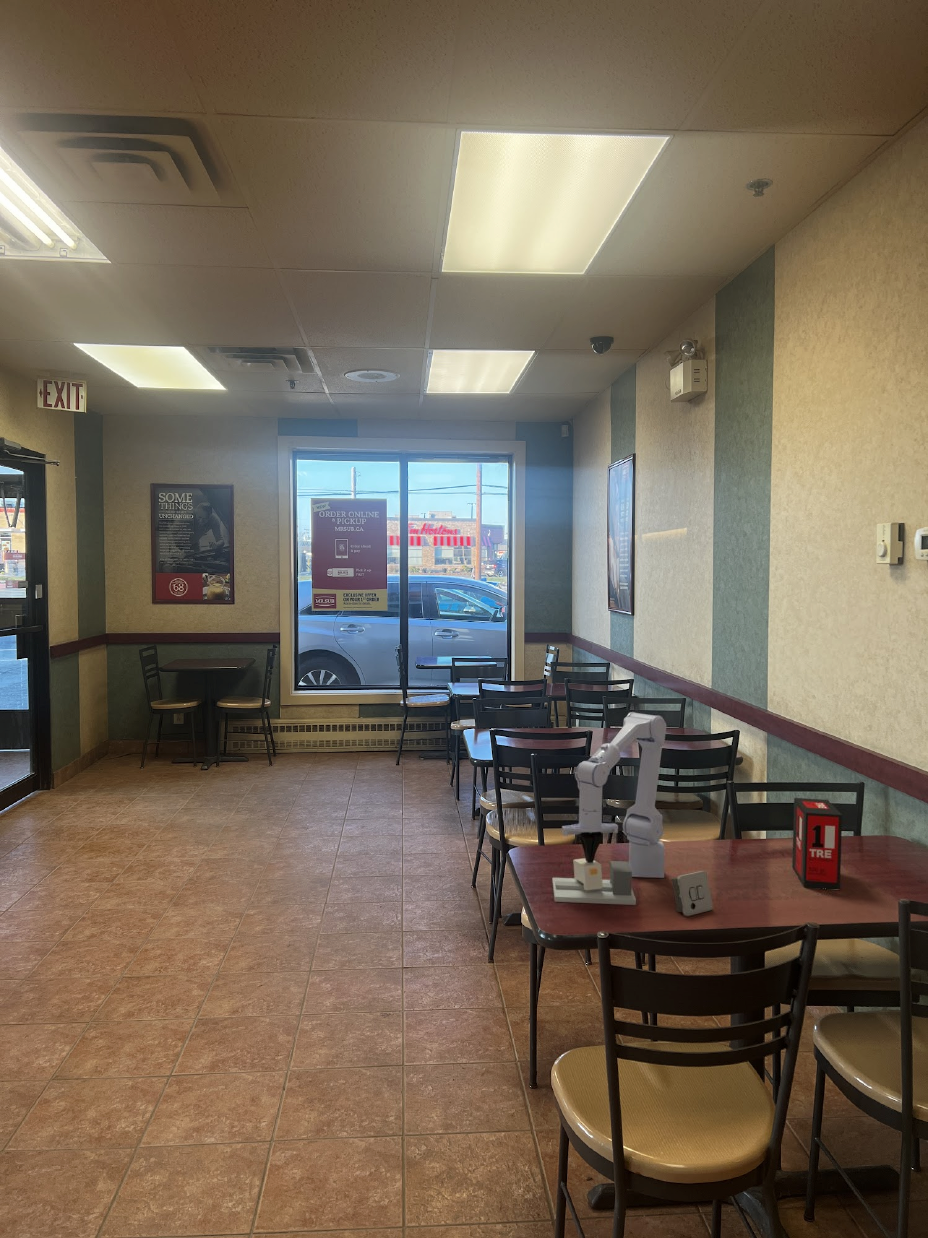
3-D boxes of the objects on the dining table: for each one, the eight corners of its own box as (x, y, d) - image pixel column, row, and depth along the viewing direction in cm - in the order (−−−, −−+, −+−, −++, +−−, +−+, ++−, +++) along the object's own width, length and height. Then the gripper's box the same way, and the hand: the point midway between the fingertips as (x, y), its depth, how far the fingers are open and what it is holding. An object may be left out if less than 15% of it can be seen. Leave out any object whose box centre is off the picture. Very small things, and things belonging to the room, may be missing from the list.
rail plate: (628, 885, 217) (629, 858, 217) (635, 905, 203) (636, 876, 203) (552, 882, 219) (552, 855, 218) (554, 901, 205) (555, 873, 204)
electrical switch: (686, 918, 196) (684, 878, 196) (670, 912, 200) (668, 874, 201) (713, 911, 201) (712, 872, 201) (697, 906, 205) (696, 868, 206)
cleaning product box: (839, 890, 216) (842, 815, 215) (803, 887, 218) (806, 812, 217) (825, 870, 232) (827, 799, 232) (792, 867, 234) (794, 797, 233)
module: (591, 881, 216) (589, 857, 216) (604, 889, 207) (602, 864, 208) (575, 883, 215) (573, 859, 215) (587, 891, 206) (585, 867, 207)
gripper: (610, 803, 216) (609, 855, 216) (558, 806, 213) (557, 858, 213) (621, 810, 209) (620, 863, 209) (567, 813, 206) (566, 867, 206)
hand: (589, 861), depth 211 cm, fingers closed
